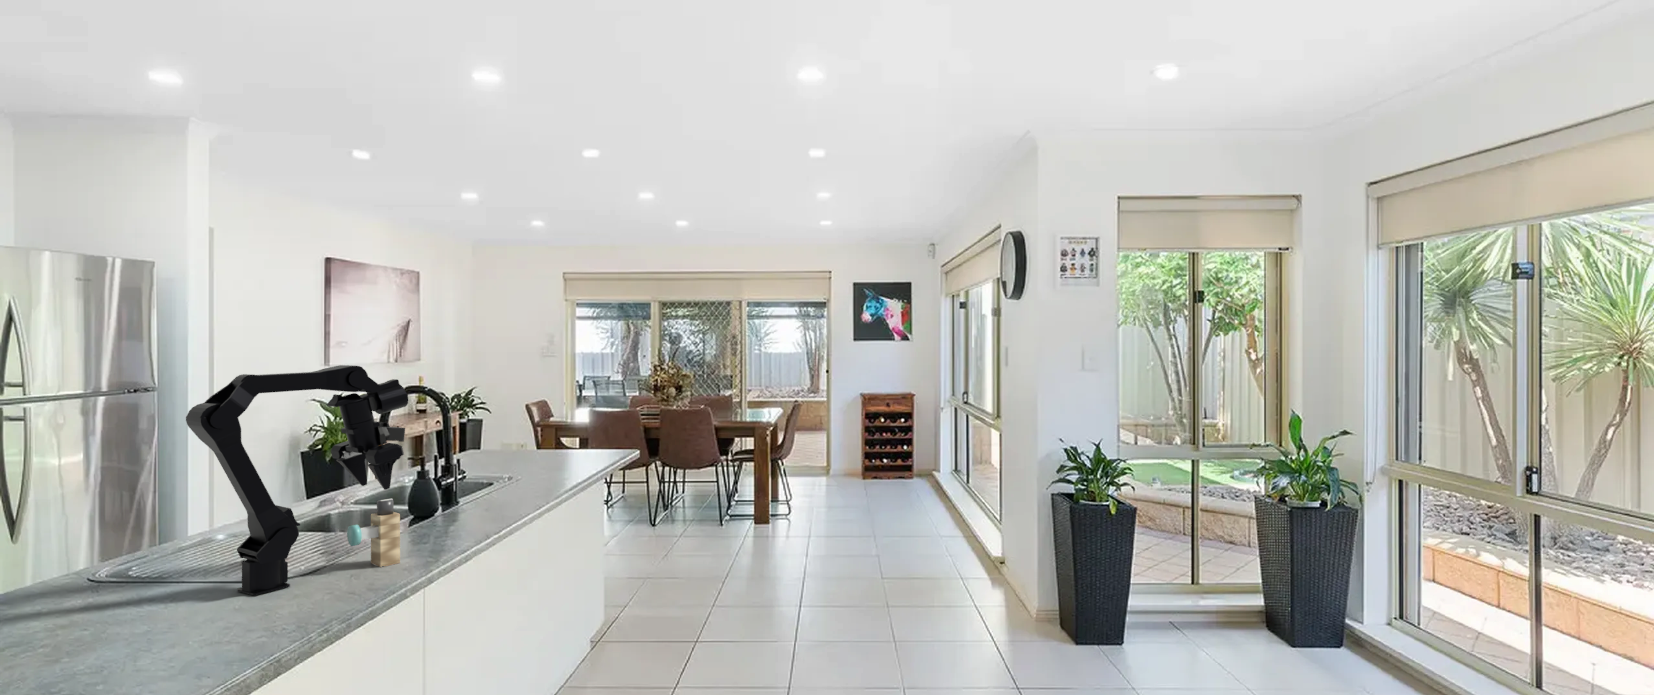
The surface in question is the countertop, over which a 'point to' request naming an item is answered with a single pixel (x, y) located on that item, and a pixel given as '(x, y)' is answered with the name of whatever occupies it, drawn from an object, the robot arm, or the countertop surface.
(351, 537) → the knob
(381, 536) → the mount
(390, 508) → the dial
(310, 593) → the countertop surface
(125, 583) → the countertop surface
